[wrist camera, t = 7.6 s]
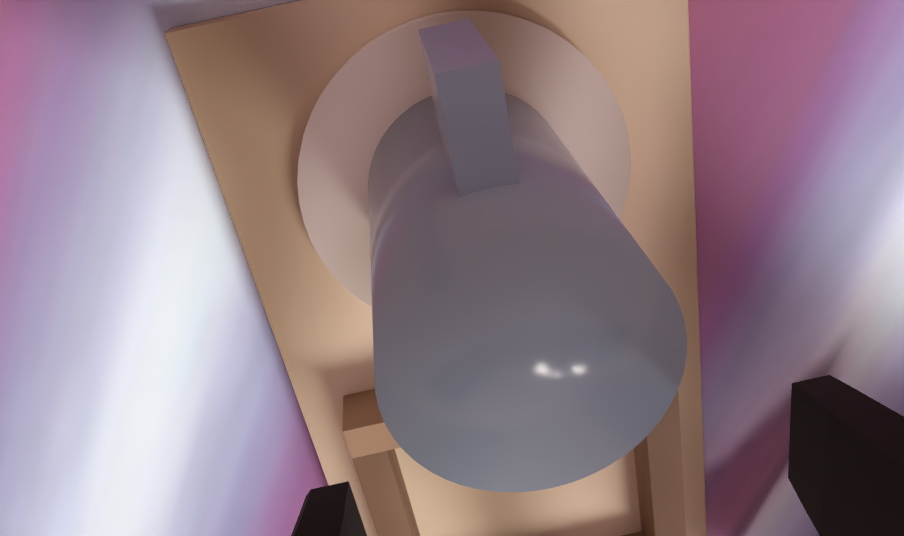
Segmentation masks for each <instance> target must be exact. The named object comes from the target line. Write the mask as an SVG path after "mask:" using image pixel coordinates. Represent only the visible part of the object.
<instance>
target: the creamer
mask: <svg viewBox="0 0 904 536" xmlns="http://www.w3.org/2000/svg"><path fill="white" fill-rule="evenodd" d="M418 33H419V38H420V42H421V47H422V52H423V56H424V61H425V66H426V71H427V75H428V80H429V85H430V90H431V94H432V96H430V97H427V98H425V99H423V100H421V101H419V102H418V103H416V104H414V105H413V106H411V107H410V108H409V109H407V110H406V111H405V112H404V113H402V114H401V115H400V116H399V117H398V118H397V119H396V120H395V121H394V122H393V123H392V124H391V125H390V127H389V128H388V130H387V131H386V132H385V134H384V135H383V136H382V138H381V140H380V142H379V144H378V146H377V147H376V150H375V153H374V155H373V158H372V161H371V166H370V170H369V178H368V201H369V232H370V262H371V292H372V322H373V353H374V380H375V394H376V398H377V403H378V407H379V410H380V413H381V415H382V418H383V420H384V423H385V425H386V427H387V428H388V430H389V432H390V433H391V435H392V437H393V438H394V440H395V441H396V442H397V443H398V444H399V446H400V447H401V448H402V449H403V450H404V451H405V452H406V453H407V454H408V455H409V456H410V457H411V458H412V459H413V460H414V461H416V462H417V463H418V464H420V465H421V466H423V467H424V468H426V469H427V470H429V471H430V472H432V473H434V474H436V475H438V476H440V477H442V478H444V479H446V480H448V481H451V482H454V483H457V484H459V485H462V486H466V487H470V488H475V489H479V490H486V491H494V492H528V491H537V490H543V489H549V488H554V487H558V486H561V485H565V484H568V483H572V482H574V481H577V480H580V479H582V478H585V477H587V476H590V475H592V474H594V473H596V472H598V471H600V470H602V469H604V468H606V467H607V466H609V465H611V464H612V463H614V462H615V461H617V460H619V459H620V458H622V457H623V456H624V455H626V454H627V453H628V452H629V451H631V450H632V449H633V448H635V447H636V446H637V445H638V444H639V443H640V442H641V441H642V440H643V439H644V438H645V437H646V436H647V435H648V434H649V433H650V432H651V431H652V430H653V429H654V427H655V426H656V425H657V424H658V423H659V421H660V420H661V419H662V417H663V416H664V414H665V413H666V411H667V410H668V408H669V407H670V405H671V403H672V401H673V399H674V397H675V395H676V393H677V391H678V389H679V386H680V382H681V379H682V376H683V373H684V368H685V363H686V357H687V334H686V327H685V321H684V317H683V314H682V311H681V308H680V305H679V303H678V301H677V299H676V297H675V295H674V293H673V291H672V289H671V288H670V287H669V285H668V284H667V282H666V281H665V280H664V278H663V277H662V276H661V274H660V273H659V272H658V270H657V269H656V268H655V266H654V265H653V264H652V262H651V261H650V259H649V258H648V257H647V255H646V254H645V253H644V251H643V250H642V249H641V247H640V246H639V245H638V243H637V242H636V241H635V239H634V238H633V237H632V235H631V234H630V233H629V231H628V230H627V229H626V227H625V226H624V225H623V223H622V222H621V220H620V219H619V218H618V216H617V215H616V214H615V212H614V211H613V210H612V208H611V207H610V206H609V204H608V203H607V202H606V200H605V199H604V198H603V196H602V195H601V194H600V192H599V191H598V190H597V188H596V187H595V186H594V184H593V183H592V181H591V180H590V179H589V177H588V176H587V175H586V173H585V172H584V171H583V169H582V168H581V167H580V165H579V164H578V163H577V161H576V160H575V159H574V157H573V156H572V155H571V153H570V152H569V151H568V149H567V148H566V147H565V145H564V144H563V142H562V141H561V140H560V138H559V137H558V136H557V134H556V133H555V132H554V130H553V129H552V128H551V126H550V125H549V124H548V122H547V121H546V120H545V119H544V118H543V117H542V116H541V115H540V114H539V113H538V112H537V111H536V110H535V109H534V108H532V107H531V106H530V105H528V104H527V103H525V102H524V101H522V100H520V99H518V98H517V97H515V96H512V95H510V94H507V93H505V92H504V86H503V80H502V74H501V68H500V62H499V59H498V58H497V56H496V55H495V54H494V52H493V51H492V50H491V48H490V47H489V45H488V44H487V43H486V41H485V40H484V39H483V37H482V36H481V35H480V33H479V32H478V30H477V29H476V28H475V26H474V25H473V24H472V22H471V21H470V20H469V18H467V19H463V20H458V21H454V22H449V23H445V24H440V25H436V26H432V27H427V28H423V29H418Z"/></svg>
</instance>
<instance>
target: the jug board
mask: <svg viewBox="0 0 904 536" xmlns="http://www.w3.org/2000/svg"><path fill="white" fill-rule="evenodd" d="M467 18H469V20H470V21H471V22H472V24H473V25H474V26H475V28H476V29H477V30H478V32H479V33H480V35H481V36H482V37H483V39H484V40H485V41H486V43H487V44H488V45H489V47H490V48H491V50H492V51H493V52H494V54H495V55H496V56H497V58H498V59H499V62H500V68H501V74H502V80H503V86H504V92H505V93H507V94H510V95H512V96H515V97H517V98H518V99H520V100H522V101H524V102H525V103H527V104H528V105H530V106H531V107H532V108H534V109H535V110H536V111H537V112H538V113H539V114H540V115H541V116H542V117H543V118H544V119H545V120H546V121H547V122H548V124H549V125H550V126H551V128H552V129H553V130H554V132H555V133H556V134H557V136H558V137H559V138H560V140H561V141H562V142H563V144H564V145H565V147H566V148H567V149H568V151H569V152H570V153H571V155H572V156H573V157H574V159H575V160H576V161H577V163H578V164H579V165H580V167H581V168H582V169H583V171H584V172H585V173H586V175H587V176H588V177H589V179H590V180H591V181H592V183H593V184H594V186H595V187H596V188H597V190H598V191H599V192H600V194H601V195H602V196H603V198H604V199H605V200H606V202H607V203H608V204H609V206H610V207H611V208H612V210H613V211H614V212H615V214H616V215H617V216H618V218H619V219H620V220H621V222H622V223H623V225H624V226H625V227H626V229H627V230H628V231H629V233H630V234H631V235H632V237H633V238H634V239H635V241H636V242H637V243H638V245H639V246H640V247H641V249H642V250H643V251H644V253H645V254H646V255H647V257H648V258H649V259H650V261H651V262H652V264H653V265H654V266H655V268H656V269H657V270H658V272H659V273H660V274H661V276H662V277H663V278H664V280H665V281H666V282H667V284H668V285H669V287H670V288H671V289H672V291H673V293H674V295H675V297H676V299H677V301H678V303H679V305H680V308H681V311H682V314H683V317H684V321H685V327H686V334H687V357H686V363H685V368H684V373H683V376H682V379H681V382H680V386H679V389H678V391H677V393H676V395H675V397H674V399H673V401H672V403H671V405H670V407H669V408H668V410H667V411H666V413H665V414H664V416H663V417H662V419H661V420H660V421H659V423H658V424H657V425H656V426H655V427H654V429H653V430H652V431H651V432H650V433H649V434H648V435H647V436H646V437H645V438H644V439H643V440H642V441H641V442H640V443H639V444H638V445H637V446H636V447H635V448H633V449H632V450H631V451H629V452H628V453H627V454H626V455H624V456H623V457H622V458H620V459H619V460H617V461H615V462H614V463H612V464H611V465H609V466H607V467H606V468H604V469H602V470H600V471H598V472H596V473H594V474H592V475H590V476H587V477H585V478H582V479H580V480H577V481H574V482H572V483H568V484H565V485H561V486H558V487H554V488H549V489H543V490H537V491H528V492H494V491H486V490H479V489H475V488H470V487H466V486H462V485H459V484H457V483H454V482H451V481H448V480H446V479H444V478H442V477H440V476H438V475H436V474H434V473H432V472H430V471H429V470H427V469H426V468H424V467H423V466H421V465H420V464H418V463H417V462H416V461H414V460H413V459H412V458H411V457H410V456H409V455H408V454H407V453H406V452H405V451H404V450H403V449H402V448H401V447H400V446H399V444H398V443H397V442H396V441H395V440H394V438H393V437H392V435H391V433H390V432H389V430H388V428H387V427H386V425H385V423H384V420H383V418H382V415H381V413H380V410H379V407H378V403H377V398H376V394H375V380H374V353H373V322H372V292H371V262H370V232H369V201H368V178H369V170H370V166H371V161H372V158H373V155H374V153H375V150H376V147H377V146H378V144H379V142H380V140H381V138H382V136H383V135H384V134H385V132H386V131H387V130H388V128H389V127H390V125H391V124H392V123H393V122H394V121H395V120H396V119H397V118H398V117H399V116H400V115H401V114H402V113H404V112H405V111H406V110H407V109H409V108H410V107H411V106H413V105H414V104H416V103H418V102H419V101H421V100H423V99H425V98H427V97H430V96H432V94H431V90H430V85H429V80H428V75H427V71H426V66H425V61H424V56H423V52H422V47H421V42H420V38H419V33H418V29H423V28H427V27H432V26H436V25H440V24H445V23H449V22H454V21H458V20H463V19H467ZM165 37H166V39H167V42H168V45H169V48H170V50H171V53H172V56H173V59H174V61H175V64H176V67H177V70H178V72H179V75H180V78H181V81H182V83H183V86H184V89H185V92H186V94H187V97H188V100H189V103H190V105H191V108H192V111H193V114H194V116H195V119H196V122H197V125H198V127H199V130H200V133H201V136H202V138H203V141H204V144H205V147H206V149H207V152H208V155H209V158H210V160H211V163H212V166H213V169H214V171H215V174H216V177H217V180H218V182H219V185H220V188H221V191H222V193H223V196H224V199H225V202H226V204H227V207H228V210H229V213H230V215H231V218H232V221H233V224H234V226H235V229H236V232H237V235H238V237H239V240H240V243H241V246H242V248H243V251H244V254H245V257H246V259H247V262H248V265H249V268H250V270H251V273H252V276H253V279H254V281H255V284H256V287H257V290H258V292H259V295H260V298H261V301H262V303H263V306H264V309H265V312H266V314H267V317H268V320H269V323H270V325H271V328H272V331H273V334H274V336H275V339H276V342H277V345H278V347H279V350H280V353H281V356H282V358H283V361H284V364H285V367H286V369H287V372H288V375H289V378H290V380H291V383H292V386H293V389H294V391H295V394H296V397H297V400H298V402H299V405H300V408H301V411H302V413H303V416H304V419H305V422H306V424H307V427H308V430H309V433H310V436H311V438H312V441H313V444H314V447H315V449H316V452H317V455H318V458H319V460H320V463H321V466H322V469H323V471H324V474H325V477H326V480H327V482H328V485H334V484H338V483H343V482H347V481H349V483H350V486H351V489H352V492H353V495H354V498H355V501H356V504H357V507H358V510H359V513H360V516H361V519H362V522H363V525H364V528H365V531H366V534H367V536H707V531H706V503H705V474H704V445H703V417H702V388H701V359H700V331H699V302H698V273H697V245H696V216H695V188H694V159H693V130H692V102H691V73H690V44H689V16H688V0H299V1H294V2H290V3H285V4H281V5H276V6H271V7H267V8H262V9H257V10H253V11H248V12H244V13H239V14H234V15H230V16H225V17H221V18H216V19H211V20H207V21H202V22H198V23H193V24H188V25H184V26H179V27H175V28H170V29H169V30H168V31H167V32H166V33H165Z"/></svg>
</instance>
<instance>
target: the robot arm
mask: <svg viewBox="0 0 904 536" xmlns="http://www.w3.org/2000/svg"><path fill="white" fill-rule="evenodd" d="M788 478H789V480H790V482H791V484H792V486H793V488H794V490H795V491H796V493H797V495H798V497H799V499H800V501H801V503H802V505H803V507H804V508H805V510H806V512H807V514H808V516H809V517H810V519H811V521H812V523H813V524H814V526H815V528H816V530H817V531H818V533H819V535H820V536H904V417H903V416H901V415H900V414H898V413H896V412H894V411H893V410H891V409H889V408H887V407H886V406H884V405H882V404H880V403H879V402H877V401H875V400H873V399H872V398H870V397H868V396H866V395H865V394H863V393H861V392H859V391H858V390H856V389H854V388H852V387H851V386H849V385H847V384H845V383H843V382H841V381H840V380H838V379H836V378H834V377H832V376H830V375H827V376H822V377H818V378H813V379H809V380H804V381H800V382H795V383H792V395H791V420H790V445H789V470H788ZM291 536H367V534H366V531H365V528H364V525H363V522H362V519H361V516H360V513H359V510H358V507H357V504H356V501H355V498H354V495H353V492H352V489H351V486H350V483H349V481H347V482H343V483H338V484H334V485H329V486H324V487H320V488H315V489H311V490H310V492H309V493H308V494H307V496H306V498H305V501H304V503H303V506H302V509H301V512H300V514H299V517H298V519H297V522H296V525H295V527H294V530H293V532H292V535H291Z"/></svg>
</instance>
